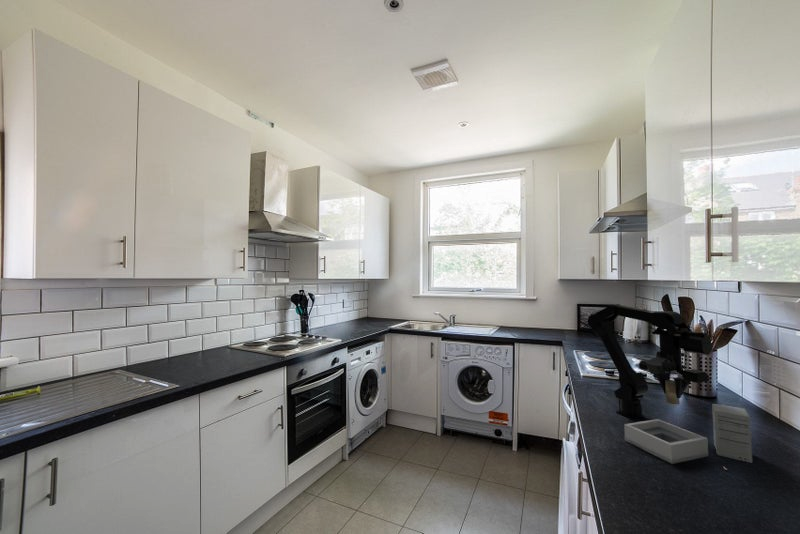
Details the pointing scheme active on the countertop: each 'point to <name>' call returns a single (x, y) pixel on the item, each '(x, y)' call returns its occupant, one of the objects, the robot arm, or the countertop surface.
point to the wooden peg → (671, 392)
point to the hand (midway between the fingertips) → (672, 396)
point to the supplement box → (732, 432)
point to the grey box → (666, 440)
